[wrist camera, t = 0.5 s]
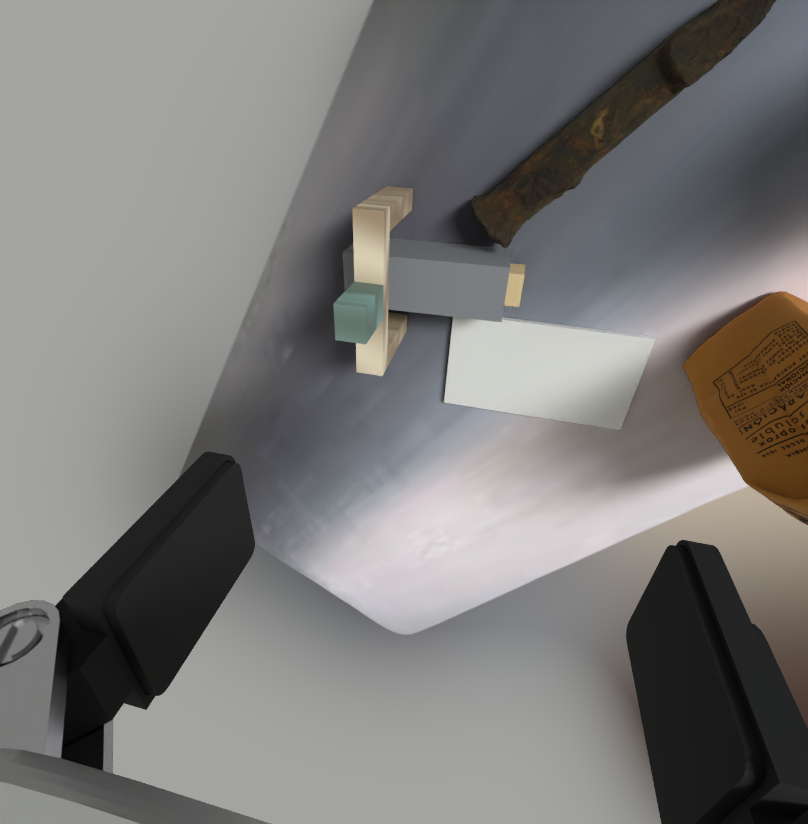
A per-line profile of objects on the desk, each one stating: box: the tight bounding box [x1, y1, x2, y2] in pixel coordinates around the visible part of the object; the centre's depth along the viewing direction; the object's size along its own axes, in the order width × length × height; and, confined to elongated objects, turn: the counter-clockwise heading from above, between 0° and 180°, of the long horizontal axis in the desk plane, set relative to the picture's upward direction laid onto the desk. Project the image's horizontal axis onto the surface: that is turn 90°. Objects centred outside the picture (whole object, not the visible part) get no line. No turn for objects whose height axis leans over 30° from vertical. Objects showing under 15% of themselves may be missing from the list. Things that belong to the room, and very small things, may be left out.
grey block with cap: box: [343, 238, 525, 322], centre depth 35 cm, size 4×13×5 cm, turn 89°
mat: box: [444, 317, 656, 430], centre depth 40 cm, size 9×16×1 cm, turn 88°
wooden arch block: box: [333, 186, 413, 376], centre depth 33 cm, size 12×2×12 cm, turn 178°
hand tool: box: [471, 0, 776, 248], centre depth 28 cm, size 19×4×5 cm, turn 131°
